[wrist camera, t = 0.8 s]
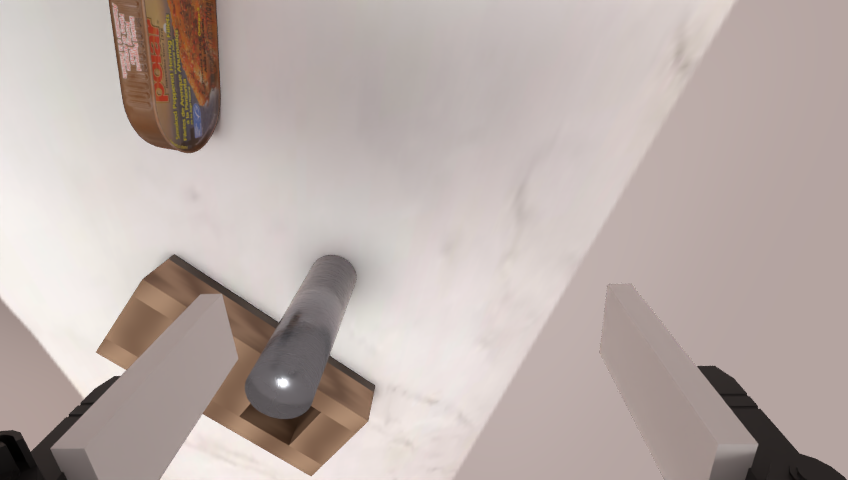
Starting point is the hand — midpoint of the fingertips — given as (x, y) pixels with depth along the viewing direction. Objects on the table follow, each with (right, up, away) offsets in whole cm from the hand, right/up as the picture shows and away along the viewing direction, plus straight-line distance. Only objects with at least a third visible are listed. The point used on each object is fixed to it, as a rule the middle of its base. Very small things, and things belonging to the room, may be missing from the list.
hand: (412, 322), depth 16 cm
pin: (-8, -1, +28) cm, 29 cm away
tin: (-17, +18, +21) cm, 33 cm away
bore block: (-17, -9, +32) cm, 38 cm away
